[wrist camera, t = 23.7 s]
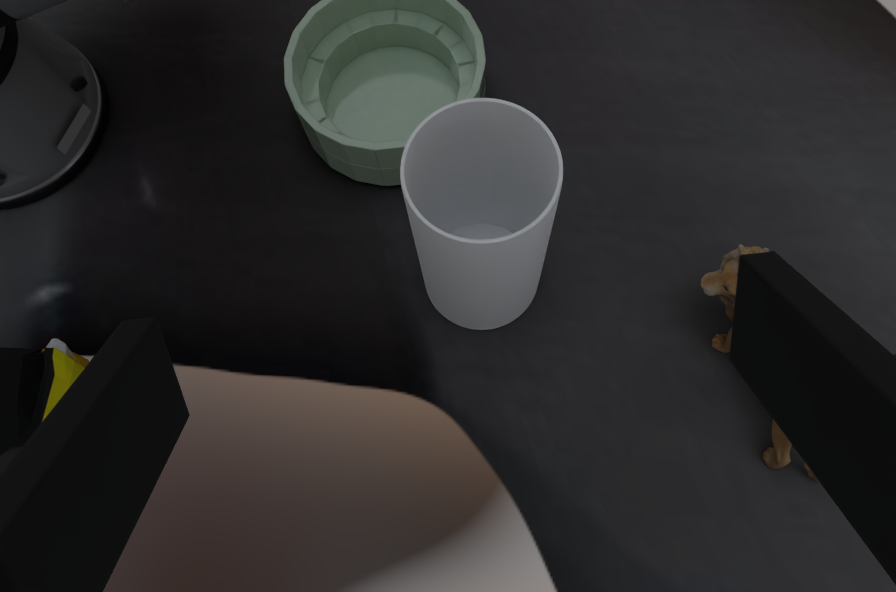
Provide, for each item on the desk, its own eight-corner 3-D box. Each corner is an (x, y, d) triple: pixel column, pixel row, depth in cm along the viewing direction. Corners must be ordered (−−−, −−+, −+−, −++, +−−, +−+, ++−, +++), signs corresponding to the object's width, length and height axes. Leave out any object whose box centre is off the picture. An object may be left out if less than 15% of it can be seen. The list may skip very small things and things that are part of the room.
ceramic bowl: (269, 138, 54) (244, 93, 48) (366, 6, 57) (354, -50, 52) (424, 220, 51) (417, 183, 46) (517, 76, 55) (521, 25, 49)
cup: (412, 317, 49) (381, 227, 34) (438, 213, 51) (419, 85, 36) (527, 340, 48) (548, 258, 33) (547, 233, 50) (576, 110, 35)
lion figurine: (664, 301, 49) (703, 255, 40) (730, 270, 49) (782, 217, 40) (783, 499, 44) (855, 494, 36) (854, 462, 45) (942, 449, 36)
